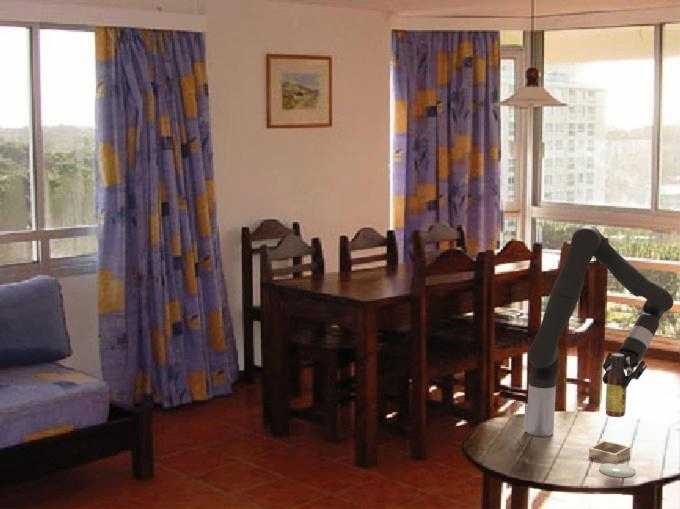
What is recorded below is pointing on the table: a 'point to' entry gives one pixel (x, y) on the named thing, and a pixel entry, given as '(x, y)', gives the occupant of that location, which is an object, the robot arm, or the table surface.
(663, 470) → the table surface
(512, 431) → the table surface
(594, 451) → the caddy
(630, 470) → the trivet
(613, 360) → the sauce bottle
